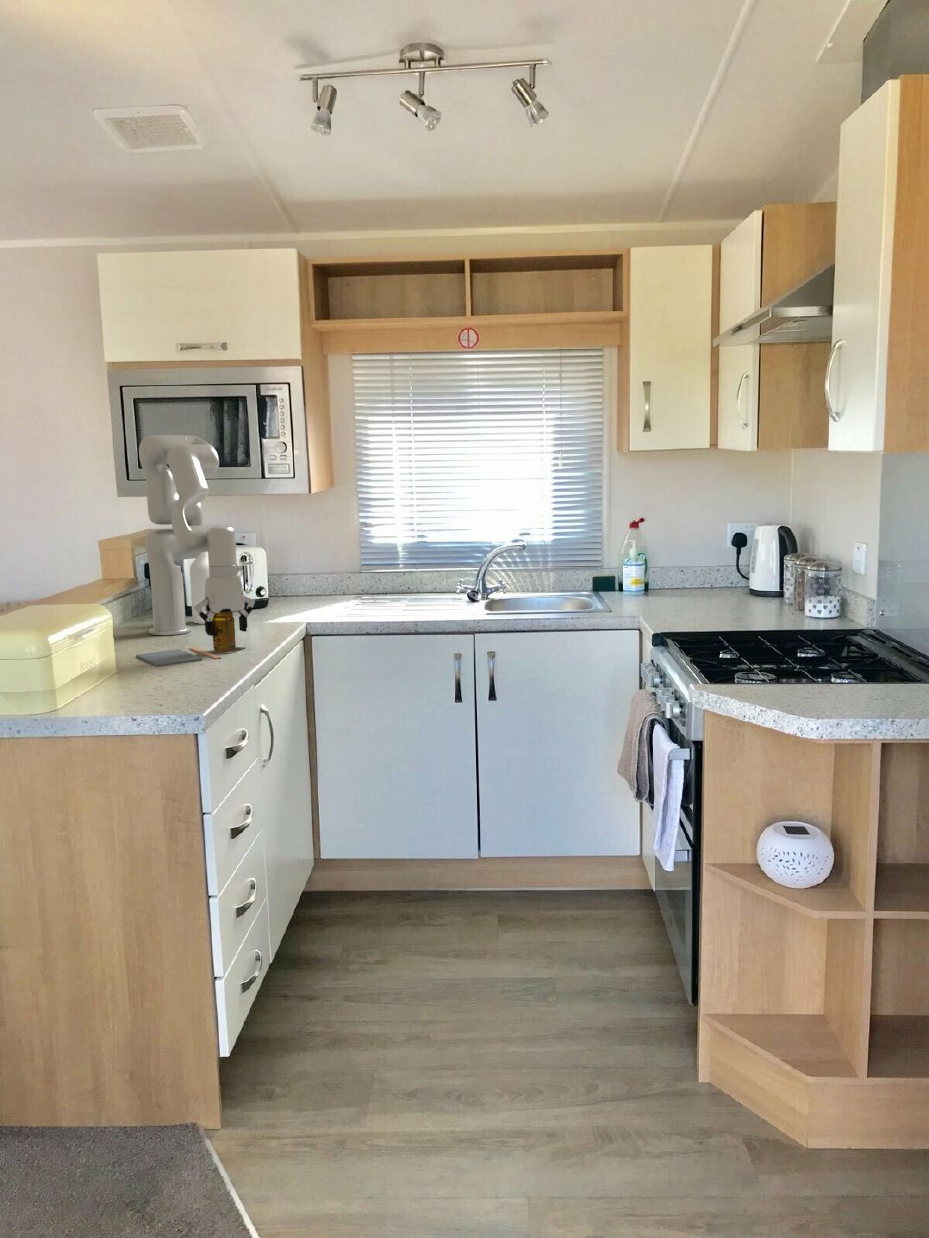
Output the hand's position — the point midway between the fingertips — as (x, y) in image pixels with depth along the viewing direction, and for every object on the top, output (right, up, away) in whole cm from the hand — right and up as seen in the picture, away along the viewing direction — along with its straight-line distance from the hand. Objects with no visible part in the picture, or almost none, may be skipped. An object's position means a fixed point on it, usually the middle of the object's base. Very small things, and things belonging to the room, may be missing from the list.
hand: (226, 633), depth 265 cm
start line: (-5, -6, -4) cm, 9 cm away
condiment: (0, -5, +1) cm, 5 cm away
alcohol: (-18, +3, +47) cm, 51 cm away
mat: (-13, -7, -10) cm, 18 cm away
